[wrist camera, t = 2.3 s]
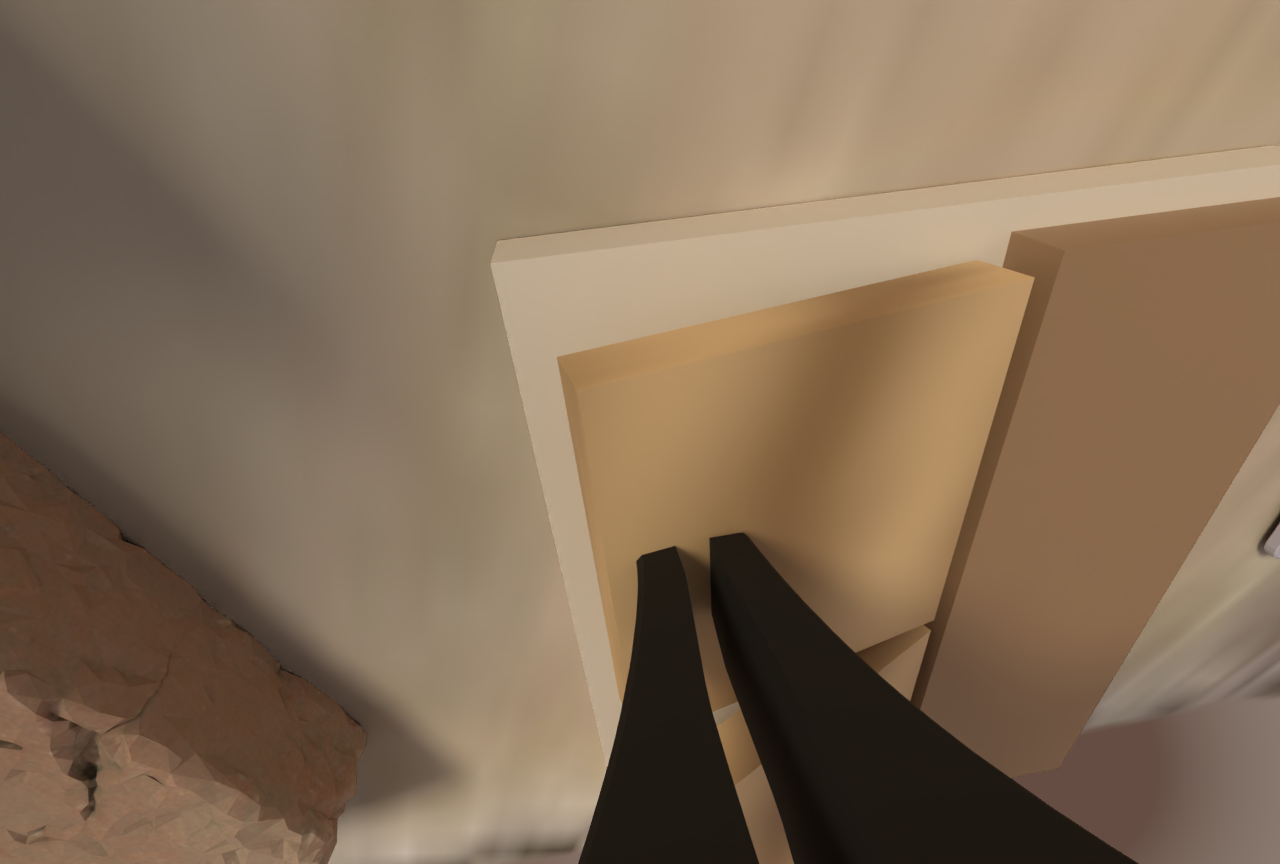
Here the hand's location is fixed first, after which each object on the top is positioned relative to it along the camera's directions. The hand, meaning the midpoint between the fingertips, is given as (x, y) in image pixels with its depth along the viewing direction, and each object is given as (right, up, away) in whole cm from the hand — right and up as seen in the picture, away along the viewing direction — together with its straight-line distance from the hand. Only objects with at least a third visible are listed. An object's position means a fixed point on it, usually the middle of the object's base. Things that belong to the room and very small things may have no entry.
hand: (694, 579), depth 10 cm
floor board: (+5, -1, +6) cm, 8 cm away
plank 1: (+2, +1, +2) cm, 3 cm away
